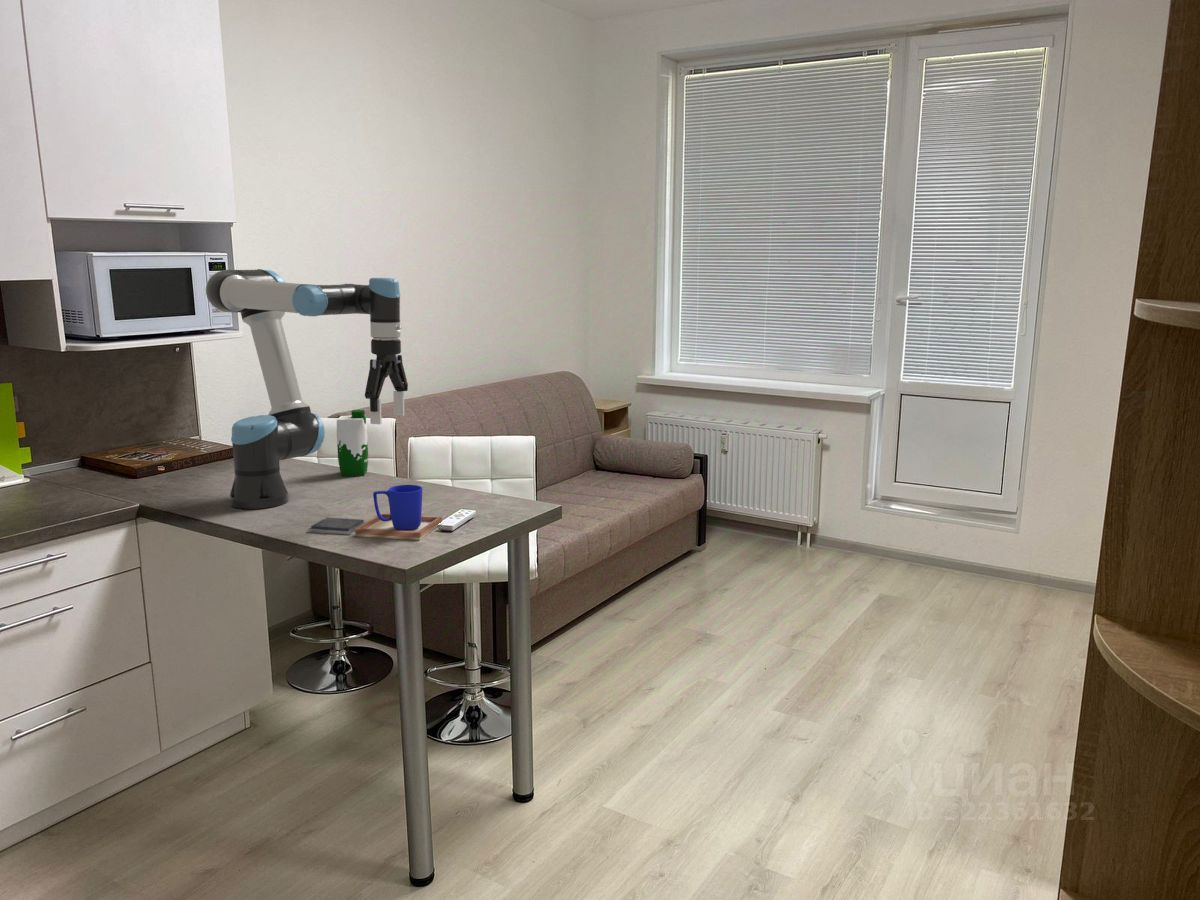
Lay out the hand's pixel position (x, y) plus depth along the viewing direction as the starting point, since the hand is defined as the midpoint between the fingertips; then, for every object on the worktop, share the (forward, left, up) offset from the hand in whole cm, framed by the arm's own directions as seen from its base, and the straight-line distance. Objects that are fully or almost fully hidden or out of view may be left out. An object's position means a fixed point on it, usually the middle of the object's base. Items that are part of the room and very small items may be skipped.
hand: (387, 419), depth 239 cm
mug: (+10, -18, -24) cm, 31 cm away
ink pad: (-6, -19, -25) cm, 32 cm away
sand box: (+10, -17, -25) cm, 32 cm away
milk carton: (-30, +39, -25) cm, 55 cm away
